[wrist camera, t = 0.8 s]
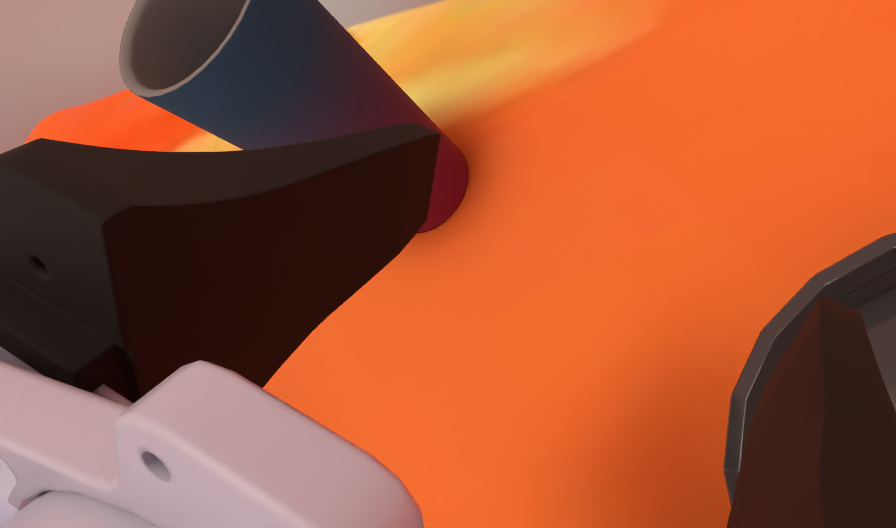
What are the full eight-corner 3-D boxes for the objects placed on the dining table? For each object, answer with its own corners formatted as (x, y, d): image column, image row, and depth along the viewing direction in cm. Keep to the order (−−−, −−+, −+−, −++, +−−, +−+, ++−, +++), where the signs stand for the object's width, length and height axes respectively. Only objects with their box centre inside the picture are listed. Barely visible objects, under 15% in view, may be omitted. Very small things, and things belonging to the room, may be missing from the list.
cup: (452, 100, 38) (233, -113, 26) (507, 193, 34) (280, -6, 22) (354, 180, 40) (108, 16, 28) (395, 277, 36) (131, 135, 24)
